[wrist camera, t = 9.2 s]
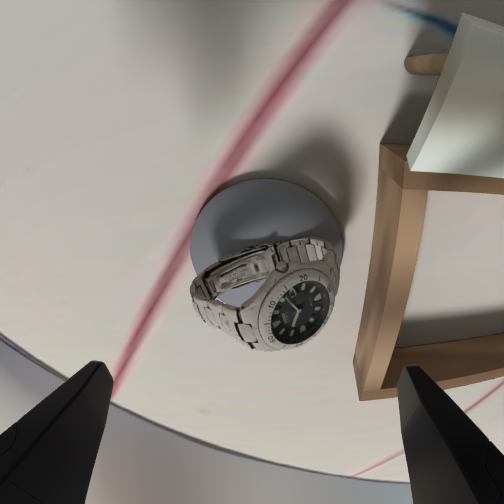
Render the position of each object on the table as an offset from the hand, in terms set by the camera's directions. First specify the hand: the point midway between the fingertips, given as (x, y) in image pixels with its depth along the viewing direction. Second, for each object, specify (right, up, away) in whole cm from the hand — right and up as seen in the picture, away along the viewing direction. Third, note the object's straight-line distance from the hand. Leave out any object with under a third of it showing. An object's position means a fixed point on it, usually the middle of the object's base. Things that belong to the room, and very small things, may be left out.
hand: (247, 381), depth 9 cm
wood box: (+14, +5, +5) cm, 16 cm away
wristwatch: (+1, +4, +6) cm, 7 cm away
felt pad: (+1, +4, +6) cm, 8 cm away
